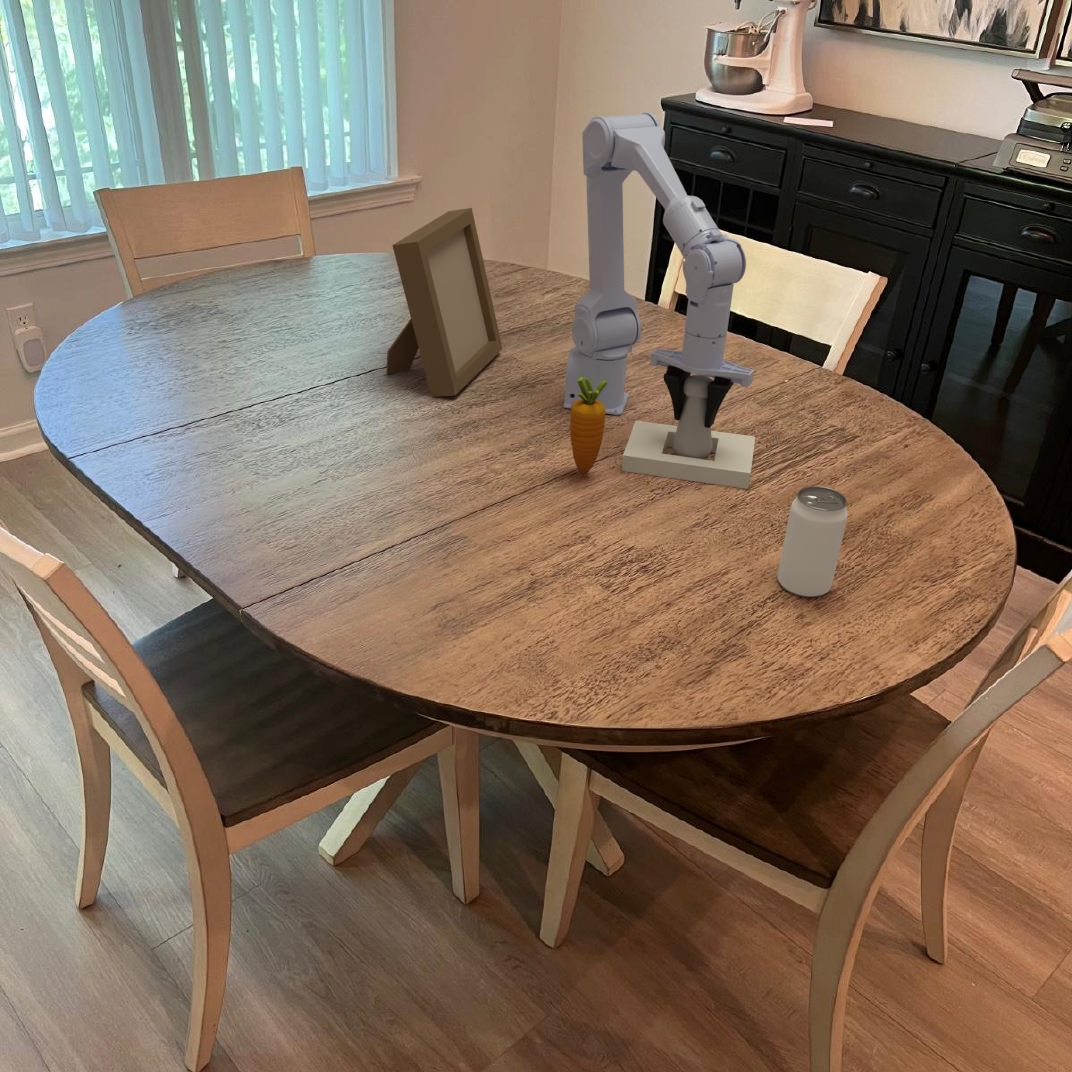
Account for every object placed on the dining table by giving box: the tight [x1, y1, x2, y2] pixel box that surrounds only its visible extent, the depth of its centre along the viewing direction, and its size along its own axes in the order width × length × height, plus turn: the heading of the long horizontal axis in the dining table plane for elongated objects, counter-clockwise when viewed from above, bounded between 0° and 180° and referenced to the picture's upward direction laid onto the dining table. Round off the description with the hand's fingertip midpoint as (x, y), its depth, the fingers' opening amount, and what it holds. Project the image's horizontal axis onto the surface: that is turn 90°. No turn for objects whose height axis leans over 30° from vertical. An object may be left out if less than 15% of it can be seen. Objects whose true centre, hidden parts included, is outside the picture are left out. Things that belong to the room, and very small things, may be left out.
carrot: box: [569, 377, 607, 477], centre depth 142 cm, size 5×5×15 cm
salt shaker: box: [672, 374, 714, 460], centre depth 148 cm, size 6×6×13 cm
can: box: [777, 485, 848, 598], centre depth 122 cm, size 6×6×12 cm
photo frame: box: [385, 207, 503, 398], centre depth 170 cm, size 15×22×25 cm
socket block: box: [621, 420, 756, 490], centre depth 151 cm, size 18×12×2 cm, turn 77°
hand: (694, 421), depth 148 cm, fingers closed on salt shaker, 4 cm apart
